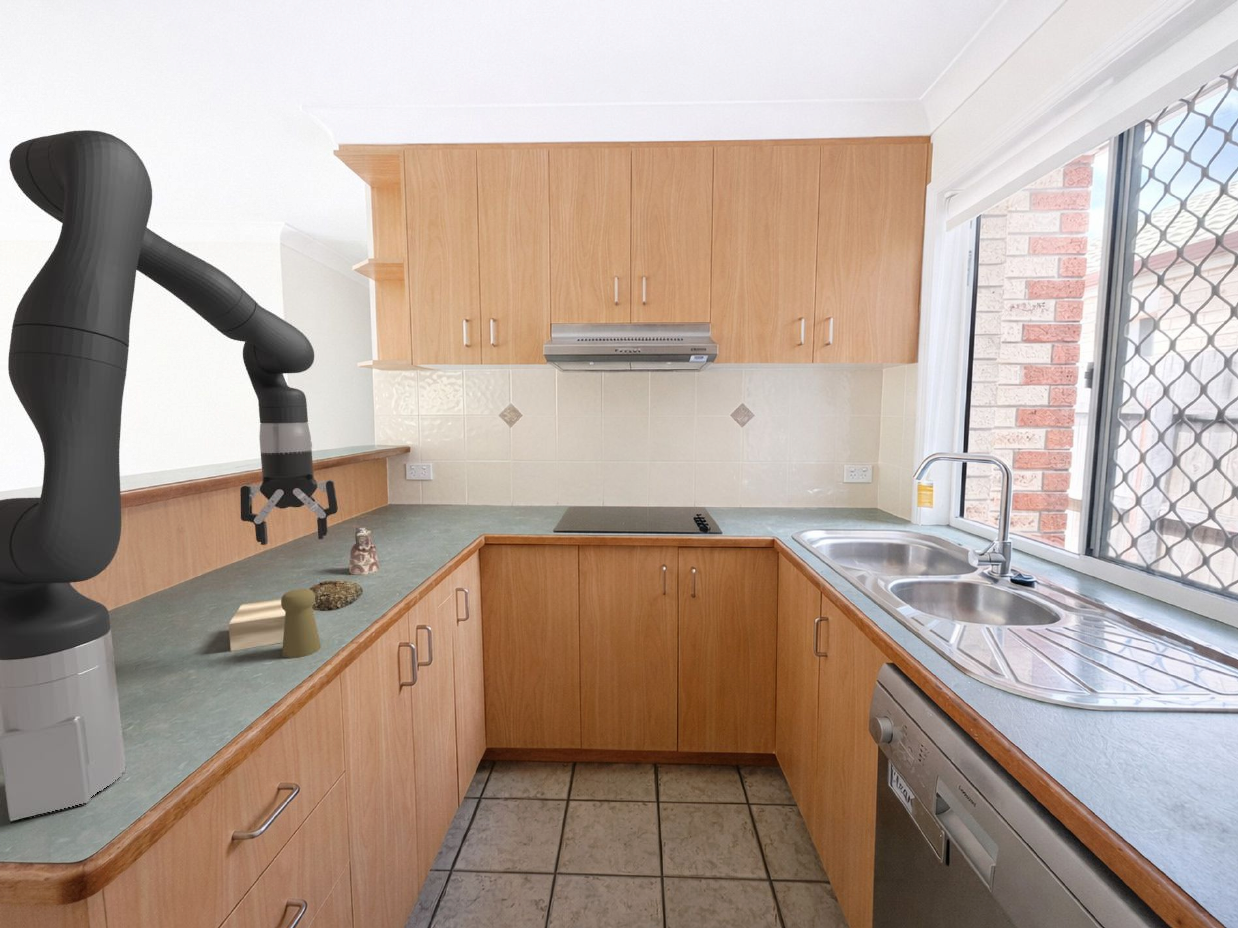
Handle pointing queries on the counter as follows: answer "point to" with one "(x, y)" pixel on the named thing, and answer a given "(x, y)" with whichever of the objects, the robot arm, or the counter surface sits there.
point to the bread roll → (335, 594)
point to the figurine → (363, 553)
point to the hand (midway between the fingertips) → (293, 541)
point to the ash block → (257, 625)
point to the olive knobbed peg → (299, 624)
